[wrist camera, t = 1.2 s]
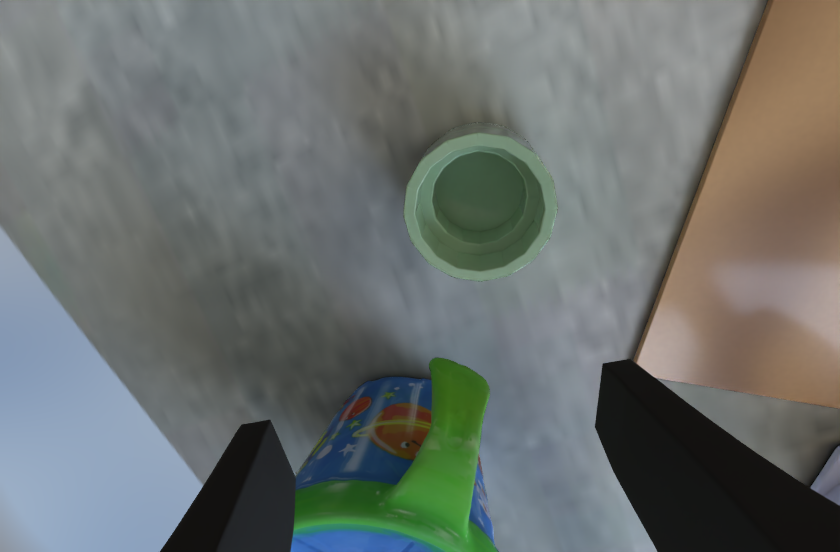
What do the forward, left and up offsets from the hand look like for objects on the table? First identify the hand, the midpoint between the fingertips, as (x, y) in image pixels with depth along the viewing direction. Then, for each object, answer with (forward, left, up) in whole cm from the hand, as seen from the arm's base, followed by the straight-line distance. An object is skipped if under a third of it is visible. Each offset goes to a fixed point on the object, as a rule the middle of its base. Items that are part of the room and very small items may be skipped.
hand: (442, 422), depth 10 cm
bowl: (0, -2, -13) cm, 13 cm away
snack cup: (+1, +12, -13) cm, 17 cm away
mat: (-15, -4, -13) cm, 20 cm away
